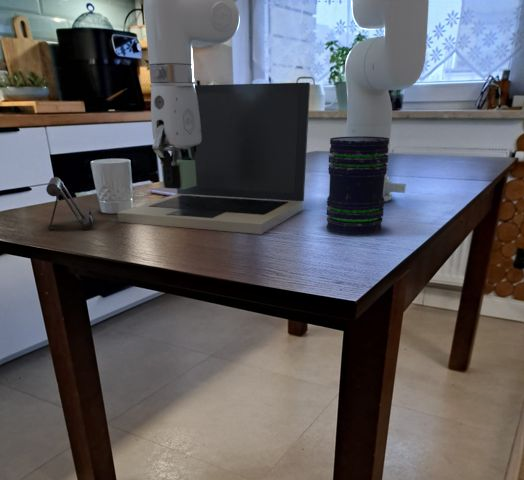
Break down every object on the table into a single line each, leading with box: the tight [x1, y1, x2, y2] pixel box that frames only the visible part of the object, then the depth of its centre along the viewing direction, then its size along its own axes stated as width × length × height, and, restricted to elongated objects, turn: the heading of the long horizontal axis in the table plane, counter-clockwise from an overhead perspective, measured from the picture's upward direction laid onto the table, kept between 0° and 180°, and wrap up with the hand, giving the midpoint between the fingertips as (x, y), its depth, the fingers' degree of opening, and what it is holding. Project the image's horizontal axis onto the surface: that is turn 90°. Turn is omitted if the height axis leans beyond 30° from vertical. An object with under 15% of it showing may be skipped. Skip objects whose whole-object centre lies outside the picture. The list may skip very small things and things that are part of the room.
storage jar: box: [326, 136, 389, 237], centre depth 88 cm, size 10×10×15 cm
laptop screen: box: [177, 82, 311, 202], centre depth 108 cm, size 22×30×1 cm
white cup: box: [90, 158, 134, 215], centre depth 107 cm, size 8×8×10 cm
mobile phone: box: [148, 186, 190, 197], centre depth 127 cm, size 8×1×15 cm
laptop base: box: [116, 194, 303, 235], centre depth 103 cm, size 22×30×2 cm
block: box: [160, 160, 197, 189], centre depth 97 cm, size 5×5×5 cm
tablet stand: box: [45, 176, 94, 231], centre depth 95 cm, size 9×8×8 cm
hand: (180, 184), depth 98 cm, fingers closed on block, 4 cm apart
